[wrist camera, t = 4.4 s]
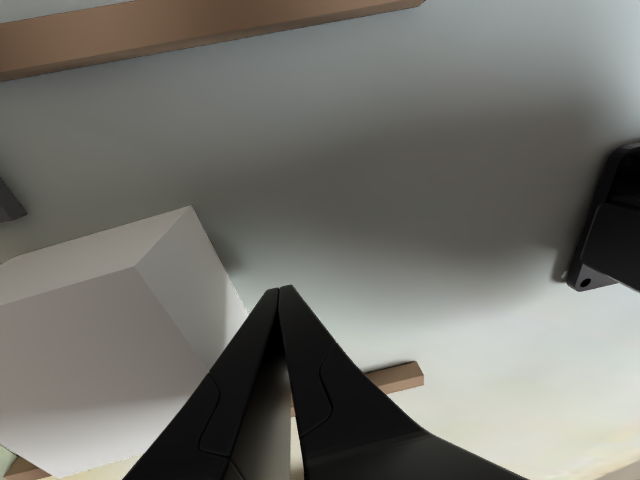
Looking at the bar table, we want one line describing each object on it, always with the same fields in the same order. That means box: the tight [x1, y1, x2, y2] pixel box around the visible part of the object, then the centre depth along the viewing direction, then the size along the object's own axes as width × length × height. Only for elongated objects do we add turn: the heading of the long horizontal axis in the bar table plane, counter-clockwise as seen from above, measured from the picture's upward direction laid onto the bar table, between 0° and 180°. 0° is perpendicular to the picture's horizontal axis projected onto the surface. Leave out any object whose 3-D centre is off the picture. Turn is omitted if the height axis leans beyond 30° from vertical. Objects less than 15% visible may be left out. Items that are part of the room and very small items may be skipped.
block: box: [0, 205, 249, 479], centre depth 8 cm, size 6×6×4 cm
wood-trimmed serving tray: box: [0, 0, 426, 480], centre depth 9 cm, size 21×16×1 cm
